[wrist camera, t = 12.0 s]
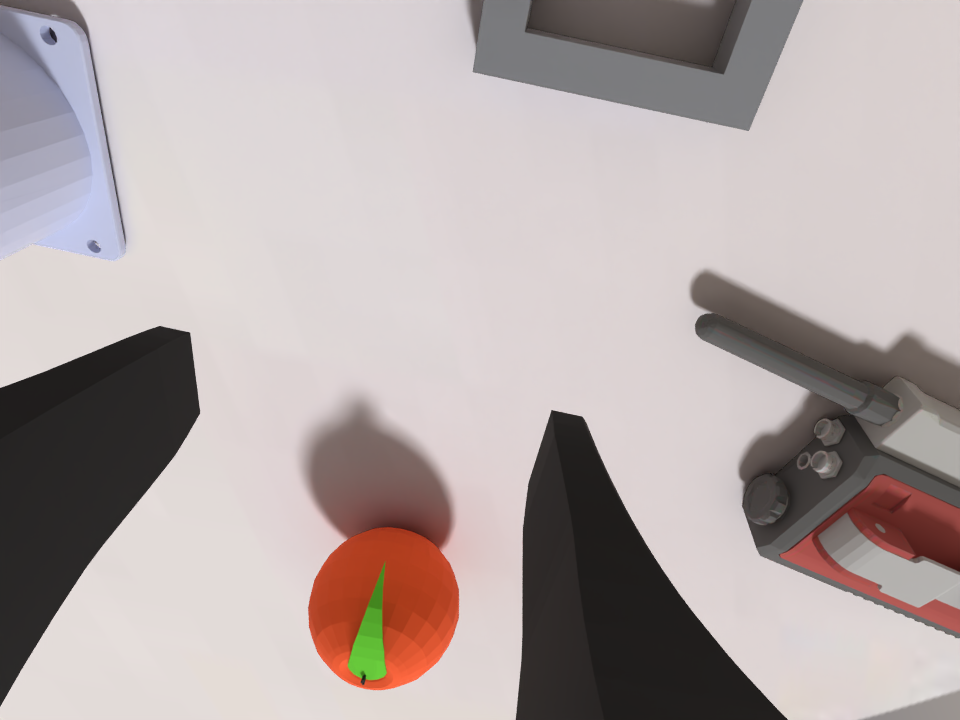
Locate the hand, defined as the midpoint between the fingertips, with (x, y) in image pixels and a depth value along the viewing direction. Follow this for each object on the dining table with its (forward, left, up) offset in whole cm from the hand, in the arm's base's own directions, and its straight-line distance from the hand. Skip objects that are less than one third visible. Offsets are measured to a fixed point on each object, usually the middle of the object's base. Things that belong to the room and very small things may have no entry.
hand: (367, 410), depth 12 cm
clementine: (0, -17, -11) cm, 20 cm away
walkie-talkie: (+18, -7, -11) cm, 22 cm away
